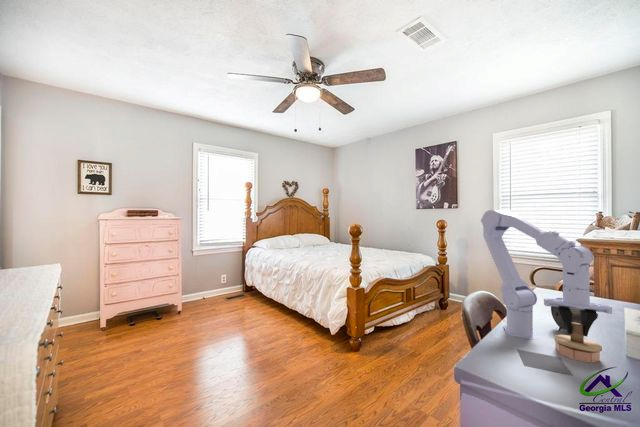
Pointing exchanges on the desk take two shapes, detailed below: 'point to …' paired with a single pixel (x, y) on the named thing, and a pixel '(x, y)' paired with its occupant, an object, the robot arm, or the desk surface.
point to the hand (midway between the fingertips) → (576, 333)
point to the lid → (578, 339)
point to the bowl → (577, 353)
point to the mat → (544, 362)
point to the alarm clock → (558, 319)
